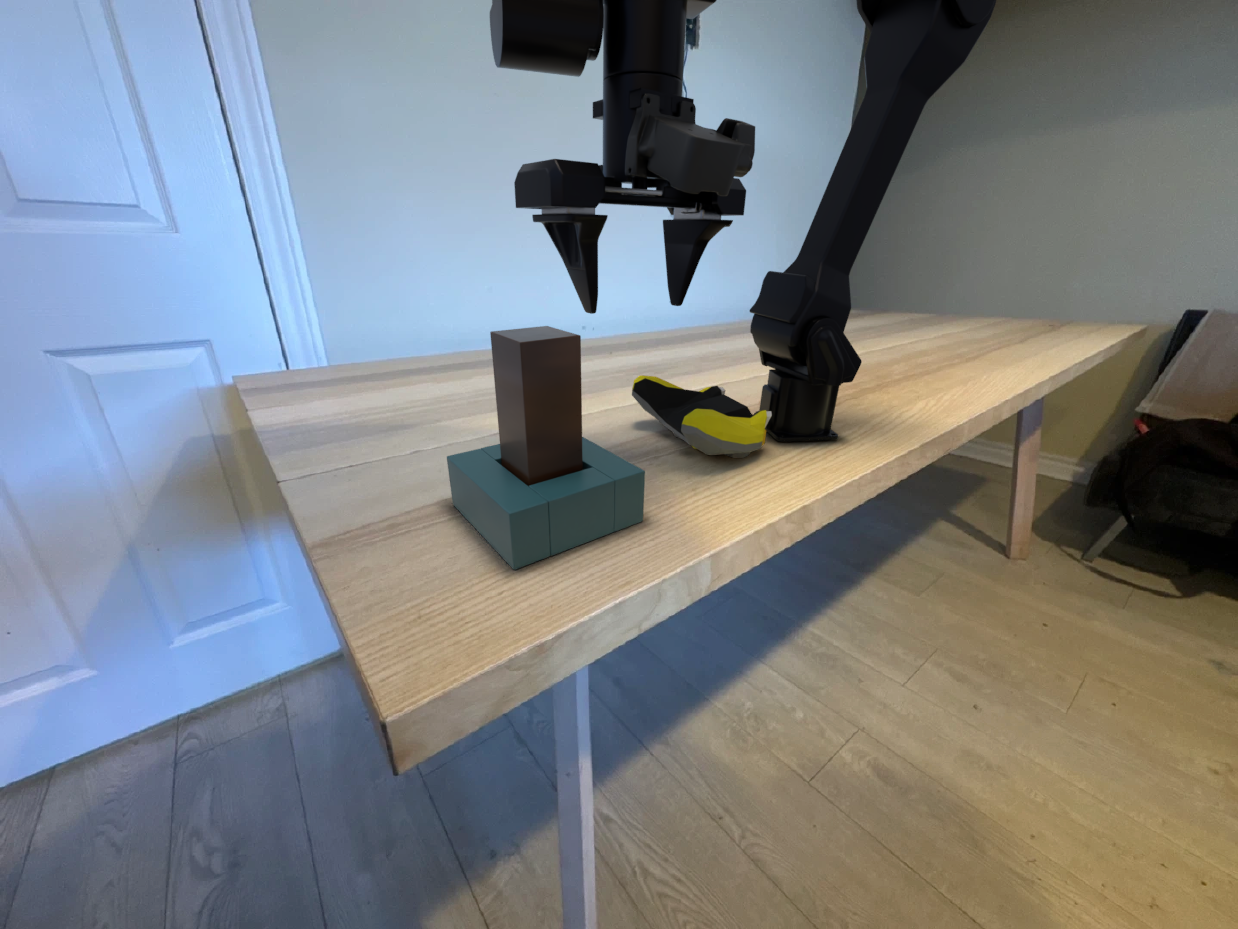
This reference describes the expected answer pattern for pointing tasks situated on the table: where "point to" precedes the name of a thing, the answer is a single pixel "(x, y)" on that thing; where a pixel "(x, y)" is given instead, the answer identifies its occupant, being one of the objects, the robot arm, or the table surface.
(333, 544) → the table surface
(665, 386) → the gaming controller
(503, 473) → the base pad
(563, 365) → the pad post
